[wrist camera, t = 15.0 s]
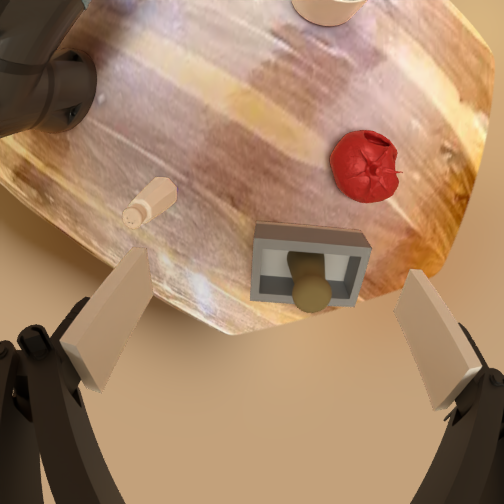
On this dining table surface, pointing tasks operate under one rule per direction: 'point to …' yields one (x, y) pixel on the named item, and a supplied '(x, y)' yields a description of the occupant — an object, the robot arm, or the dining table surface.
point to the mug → (327, 10)
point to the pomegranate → (365, 166)
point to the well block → (313, 241)
